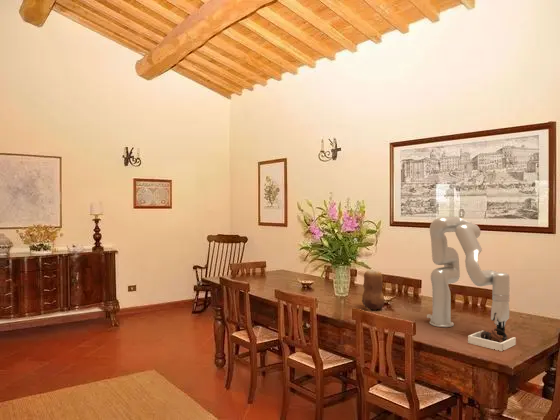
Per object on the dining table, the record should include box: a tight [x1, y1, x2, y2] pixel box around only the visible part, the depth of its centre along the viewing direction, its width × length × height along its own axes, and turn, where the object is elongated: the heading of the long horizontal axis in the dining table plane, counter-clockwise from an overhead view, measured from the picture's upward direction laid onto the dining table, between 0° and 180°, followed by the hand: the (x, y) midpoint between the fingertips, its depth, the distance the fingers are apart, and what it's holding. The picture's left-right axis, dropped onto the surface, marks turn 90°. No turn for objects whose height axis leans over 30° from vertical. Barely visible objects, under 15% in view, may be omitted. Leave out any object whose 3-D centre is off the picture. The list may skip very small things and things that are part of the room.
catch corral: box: [467, 329, 517, 352], centre depth 214 cm, size 16×14×4 cm
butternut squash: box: [361, 269, 385, 311], centre depth 284 cm, size 14×13×25 cm
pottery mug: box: [481, 327, 508, 343], centre depth 214 cm, size 12×10×8 cm
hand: (500, 334), depth 220 cm, fingers closed
